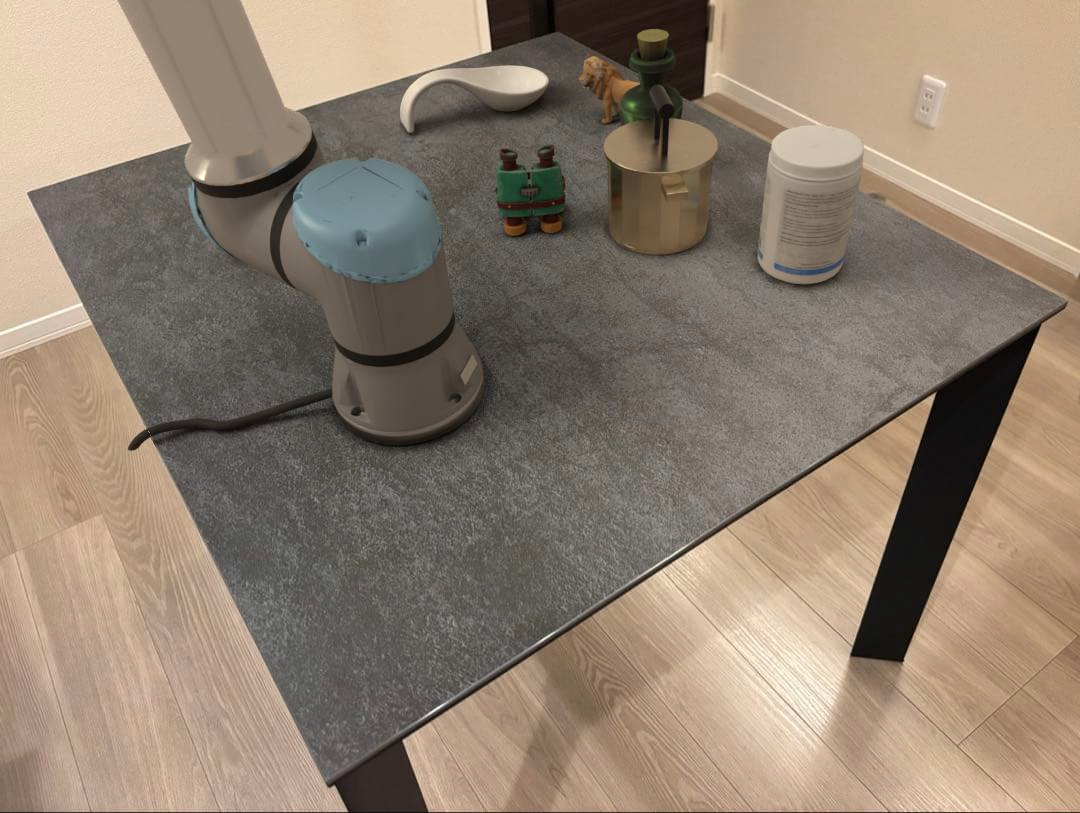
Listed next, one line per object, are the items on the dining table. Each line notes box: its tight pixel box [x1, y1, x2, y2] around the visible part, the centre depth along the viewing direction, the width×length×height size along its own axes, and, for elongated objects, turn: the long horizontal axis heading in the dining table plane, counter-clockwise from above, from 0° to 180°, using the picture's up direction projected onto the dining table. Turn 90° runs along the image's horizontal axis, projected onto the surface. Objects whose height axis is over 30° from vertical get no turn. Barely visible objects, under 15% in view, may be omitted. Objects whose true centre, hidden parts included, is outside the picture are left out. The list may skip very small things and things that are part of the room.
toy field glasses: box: [494, 144, 566, 237], centre depth 103 cm, size 9×11×10 cm
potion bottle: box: [619, 28, 684, 126], centre depth 106 cm, size 8×8×18 cm
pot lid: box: [603, 85, 719, 177], centre depth 93 cm, size 13×13×7 cm
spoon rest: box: [399, 64, 550, 134], centre depth 126 cm, size 24×12×7 cm, turn 114°
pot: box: [606, 159, 714, 256], centre depth 99 cm, size 12×17×10 cm
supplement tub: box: [757, 124, 865, 285], centre depth 90 cm, size 10×10×15 cm
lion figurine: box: [578, 55, 640, 124], centre depth 119 cm, size 15×5×9 cm, turn 55°
